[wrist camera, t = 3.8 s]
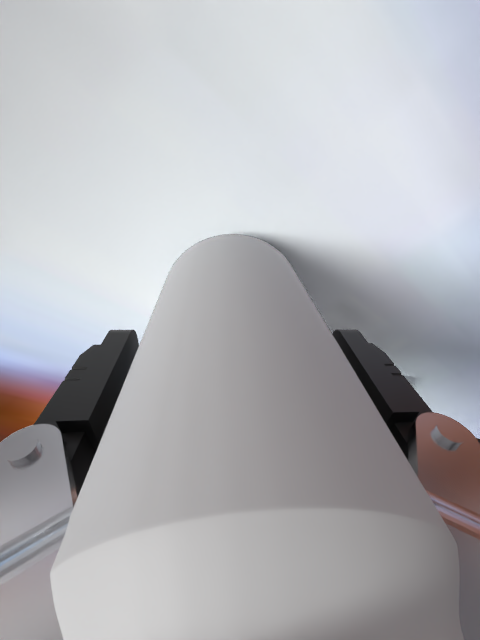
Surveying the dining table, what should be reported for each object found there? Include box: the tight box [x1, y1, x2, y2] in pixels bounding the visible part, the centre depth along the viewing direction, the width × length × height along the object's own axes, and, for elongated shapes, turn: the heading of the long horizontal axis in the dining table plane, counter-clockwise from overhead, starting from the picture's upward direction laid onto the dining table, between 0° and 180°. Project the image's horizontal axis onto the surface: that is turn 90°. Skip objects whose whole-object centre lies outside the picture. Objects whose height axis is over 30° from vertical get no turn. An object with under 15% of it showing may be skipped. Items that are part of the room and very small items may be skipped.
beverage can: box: [50, 234, 464, 640], centre depth 8 cm, size 6×6×12 cm
